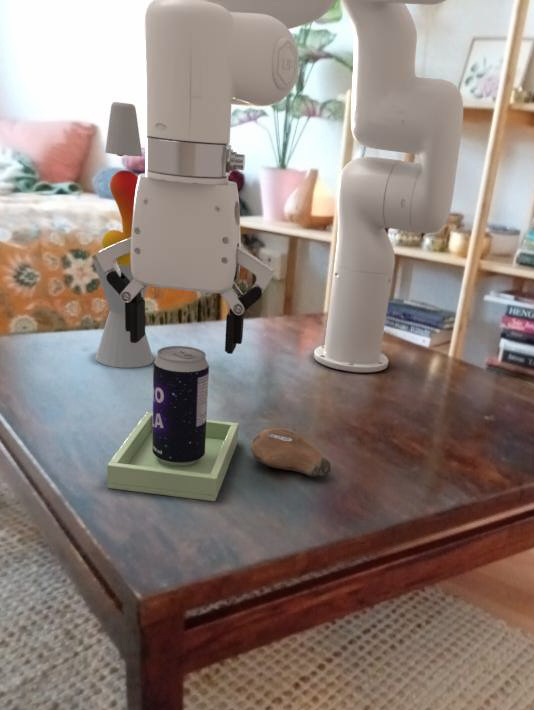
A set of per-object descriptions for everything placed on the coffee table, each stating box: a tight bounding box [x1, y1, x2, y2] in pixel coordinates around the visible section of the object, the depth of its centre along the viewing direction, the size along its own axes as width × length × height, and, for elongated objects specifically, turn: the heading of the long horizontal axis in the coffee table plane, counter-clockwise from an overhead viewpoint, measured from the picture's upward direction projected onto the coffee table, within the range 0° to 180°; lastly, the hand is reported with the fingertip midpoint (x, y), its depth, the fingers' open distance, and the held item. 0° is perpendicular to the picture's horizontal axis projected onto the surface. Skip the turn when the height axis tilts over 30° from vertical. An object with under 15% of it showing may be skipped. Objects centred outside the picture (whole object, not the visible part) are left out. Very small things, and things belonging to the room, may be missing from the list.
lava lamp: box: [91, 101, 154, 369], centre depth 101 cm, size 9×9×35 cm
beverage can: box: [152, 345, 210, 467], centre depth 75 cm, size 6×6×12 cm
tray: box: [106, 411, 239, 502], centre depth 77 cm, size 15×11×3 cm
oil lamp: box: [250, 427, 332, 478], centre depth 79 cm, size 9×4×8 cm
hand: (184, 344), depth 72 cm, fingers open, 9 cm apart
